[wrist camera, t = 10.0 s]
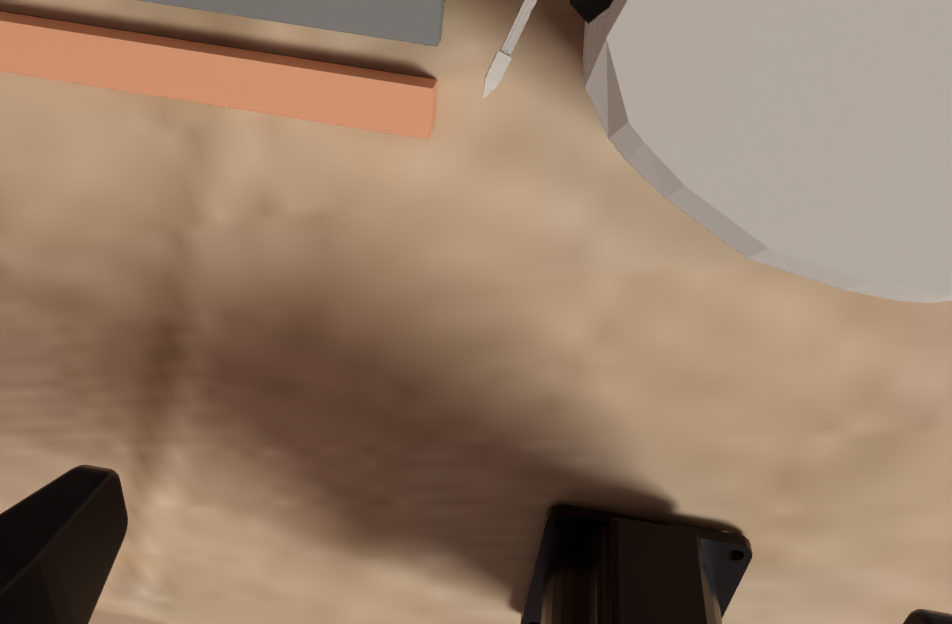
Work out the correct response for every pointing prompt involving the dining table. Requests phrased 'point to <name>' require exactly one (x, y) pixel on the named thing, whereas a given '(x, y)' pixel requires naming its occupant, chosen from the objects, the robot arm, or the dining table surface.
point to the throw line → (217, 75)
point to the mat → (340, 15)
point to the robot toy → (786, 127)
